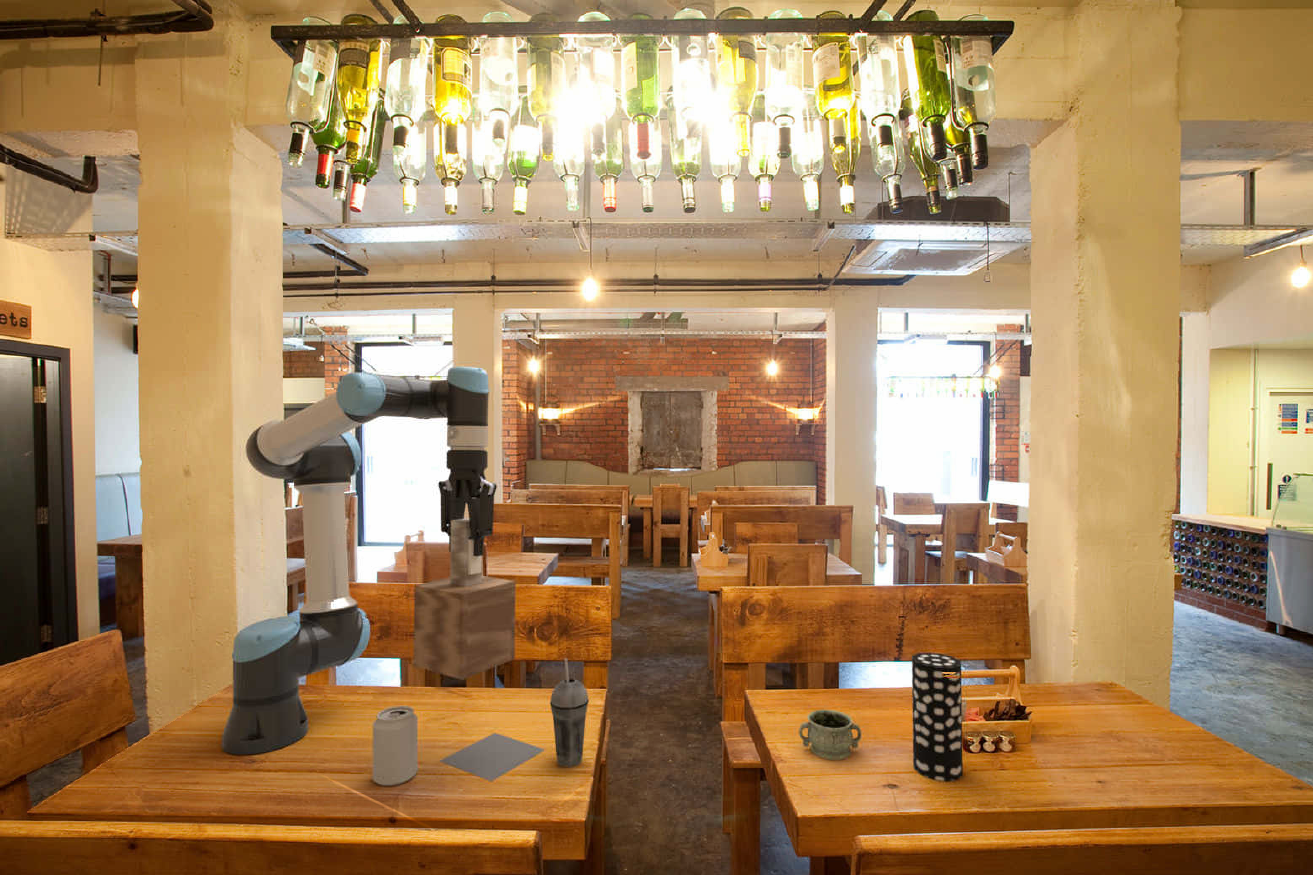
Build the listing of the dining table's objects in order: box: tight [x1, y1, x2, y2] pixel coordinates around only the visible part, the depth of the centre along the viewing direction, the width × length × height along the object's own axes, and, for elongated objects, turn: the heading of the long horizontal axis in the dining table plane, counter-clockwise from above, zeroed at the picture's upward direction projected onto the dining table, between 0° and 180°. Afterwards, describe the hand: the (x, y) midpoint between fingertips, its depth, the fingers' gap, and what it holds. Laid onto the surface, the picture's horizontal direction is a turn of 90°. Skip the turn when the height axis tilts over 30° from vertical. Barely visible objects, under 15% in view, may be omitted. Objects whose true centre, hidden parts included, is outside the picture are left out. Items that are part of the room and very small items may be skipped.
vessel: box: [798, 709, 862, 761], centre depth 125 cm, size 12×9×6 cm
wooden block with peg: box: [413, 517, 516, 681], centre depth 121 cm, size 13×13×27 cm
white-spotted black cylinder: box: [911, 652, 964, 782], centre depth 117 cm, size 8×8×20 cm
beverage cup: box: [549, 657, 590, 768], centre depth 120 cm, size 7×7×20 cm
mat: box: [439, 732, 546, 782], centre depth 123 cm, size 14×14×1 cm
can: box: [372, 705, 418, 787], centre depth 115 cm, size 8×8×12 cm
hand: (465, 571), depth 121 cm, fingers closed on wooden block with peg, 4 cm apart
